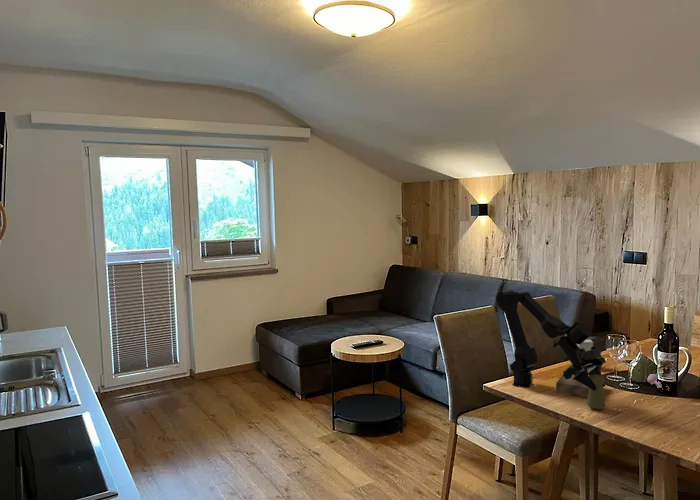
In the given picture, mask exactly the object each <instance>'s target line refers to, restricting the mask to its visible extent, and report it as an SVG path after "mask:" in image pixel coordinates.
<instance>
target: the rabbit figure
mask: <svg viewBox="0 0 700 500" xmlns="http://www.w3.org/2000/svg"><path fill="white" fill-rule="evenodd" d="M658 373H659V372H656V373H654V374H650V375H649V376H648V378H647V377H646V378H647V383H649V384H651V385H653V384H655V385H654V386H656V387H657V389H658V388H662V384H661V382H657V379H658ZM666 387H668V388H667V390H668V391H670V390H669V389H670V386H668V385H667V386H666ZM662 390H664V389H663V388H662Z"/></svg>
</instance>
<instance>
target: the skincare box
mask: <svg viewBox="0 0 700 500" xmlns="http://www.w3.org/2000/svg"><path fill="white" fill-rule="evenodd" d="M577 345H578V346H579V348H580V349H582V348H583V349H585V351H588V350H591V347H593V346H594V342H593V341H592V340H591V339H586V340H585V341H584V342H583V343H581V344H577Z"/></svg>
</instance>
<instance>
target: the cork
mask: <svg viewBox="0 0 700 500" xmlns="http://www.w3.org/2000/svg"><path fill="white" fill-rule="evenodd" d="M601 375H602V374H601ZM601 375H597V374H593V375H590V376H589V375H588V376H589V377H590V379H591V381H592V382H593V384H594V385H595V387H596V390H595V391H594V390H592V389H590V388H589V393H588V398H587V401H586V405H587V406H588V407H589V408H593V409H598V410H599V409H600V410H601V409H605V408H606V400H605V392H604V387H603V384H604V383H605V378H604V376H603V375H602V376H601Z"/></svg>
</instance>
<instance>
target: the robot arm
mask: <svg viewBox="0 0 700 500" xmlns="http://www.w3.org/2000/svg"><path fill="white" fill-rule="evenodd" d="M495 301H496V303H497V305H498V307H499V309H500V310H502V312H503V313H504V314H505V318H506V321H507V324H508V327H509V331H510V334H511V338H512V341H513V344H514V347H515V349H514V354H513V356H514V361H513V362H512V363H511V364H510V365H509V368H510V371H512V372H513V383H512V385H511V386H516V387H521V388H522V387H523V388H527V389H528V388H529V387H531V386H532V385H533V373H532V370H533V369H535V366H536V365H537V363H538V357H539V356H538V355H537V353H536V349H535V347H531V346H530V345H529V344H528V341H527V338H526V335H525V331H524V329H523V325H522V322H521V319H520V316H519V313H518V306H519V304H520V305H522V306H523V307H524V308H525V309H526V310H527V311H528V312H529V313H530V314H531V315H532V317H534V318H535V319H536V320H537V321H538V322H539V324H540V326H541V330H542V331H543V332H544V333H545V335H546V336H547V337H548V338H550V339H555V340H553V345H552V347H553V348H558V347H559V348H560V350H561V351H562V353H563V354H564V355H565V359H564V360H565V361H569V362H570V364H572V365H570V366H569V367H568V368H566V369H565V370H564V371H562V375H563V376H564V377H565V379H566V380H567V379H570V378H572V375H573V374H574V376H575V377H574V378H573V380H576V381H578V382H580V383H582V384H584V385H585V386H587V387H589V388H590V389H592V390H594V391H595V390H596V387H595V385H594V384H593V382H592V381H591V379H590V377H589V376H590V375H593V374H597V375H601V376H602V377H603V375H602V371H601V368H602V366H603V365H604V364H605V363H607V361H606V359H605V358H604V357H603V356H602V353H603V350H602V349H601V348H600V347H599V346H598V345H593V347H591V350H588V351H585V349H583V348H582V349H580V348H579V346H578V345H577V344H581V343H583V342H584V341H585V340H589V338H590V337H591V336H592V335H593V331H592V329H591V328H590V326H588V325H586V324H585V323H582V322H581V320H578V321H575V322H574V323H573V324H572V326H570V325H567V324H566V323H565V322H563V321H562V320H561V319H559V318H558V317H556V316H553V315H551V314H550V313H549V312H548V311H547V310H546V309H545V308H544V307H543V306H542V305H541V304H540V303H539V302H538V301H536V300H535V299H534V298H533V297H532V296H531V294H530V293H529V292H528V291H514V290H511V289H510V290H504V291H499V292H498V293H497V294H496V296H495ZM556 338H558V339H556ZM604 387H606V384H605V382H604V384H603V388H604Z"/></svg>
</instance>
